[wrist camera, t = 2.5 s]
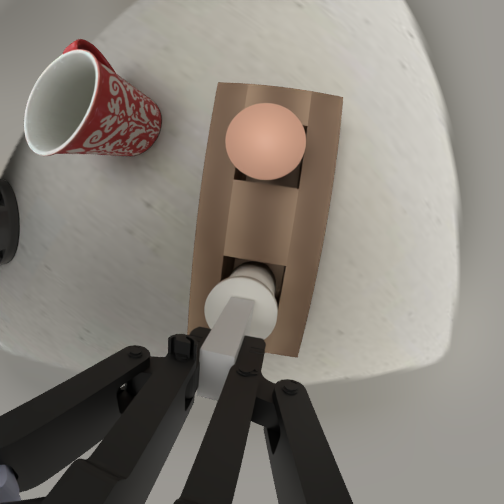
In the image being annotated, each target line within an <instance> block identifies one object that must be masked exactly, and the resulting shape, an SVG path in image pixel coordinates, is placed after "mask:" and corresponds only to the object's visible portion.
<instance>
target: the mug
mask: <svg viewBox="0 0 504 504" xmlns="http://www.w3.org/2000/svg"><path fill="white" fill-rule="evenodd" d="M160 128H161V113H160V110H159V108H158V106H157V105H156V104H155V103H154V102H153V101H152V100H151V99H150V98H148V97H147V96H146V95H144V94H143V93H142V92H140V91H139V90H138V89H136V88H135V87H134V86H132V85H131V84H129V83H128V82H127V81H125V80H124V79H123V78H121V77H120V76H119V75H118V74H116V73H115V71H114V69H113V68H112V67H111V65H110V64H109V62H108V61H107V60H106V58H105V57H104V56H103V54H102V53H101V52H100V51H99V50H98V49H97V48H96V47H95V46H94V45H93V44H91V43H90V42H88V41H86V40H83V39H78V40H76V41H74V42H73V43H71V44H70V45H69V46H68V47H66V49H65V50H64V52H63V55H61V56H60V57H58V58H57V59H56V60H54V61H53V62H52V63H51V64H50V65H49V66H48V67H47V68H46V69H45V71H44V72H43V73H42V74H41V75H40V77H39V79H38V80H37V82H36V83H35V85H34V87H33V89H32V91H31V94H30V96H29V99H28V102H27V106H26V110H25V116H24V132H25V137H26V140H27V143H28V145H29V147H30V148H31V150H32V151H33V152H35V153H36V154H38V155H41V156H50V155H54V154H98V155H119V156H135V155H138V154H141V153H143V152H144V151H146V150H147V149H148V148H149V147H151V145H152V144H153V143H154V141H155V140H156V138H157V137H158V134H159V132H160Z"/></svg>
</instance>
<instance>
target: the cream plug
mask: <svg viewBox="0 0 504 504" xmlns="http://www.w3.org/2000/svg"><path fill="white" fill-rule="evenodd" d="M275 289H276V279H275V276H274V274H273V272H272V271H271V270H270V269H269V268H268V267H267V266H266V265H264V264H262V263H260V262H255V261H249V262H245V263H242V264H240V265H239V266H238V267H236V269H235V270H234V271H233V272H232V274H231V275H230V277H229V278H226V279H224V280H222V281H221V282H219V283H218V284H217V285H216V286H215V287H214V288H213V289H212V291H211V292H210V293H209V295H208V297H207V299H206V302H205V309H204V312H205V318H206V321H207V324H208V326H209V327H210V329H212V328H213V326H214V325H215V323H216V321H217V320H218V318H219V316H220V315H221V313H222V311H223V309H224V308H225V306H226V304H227V303H228V301H229V299H230V298H231V297H236V298H241V299H246V300H252V301H255V302H254V308H253V314H252V321H251V327H250V333H249V336H251V337H257V338H262V339H266V338H267V337H268V336H269V335H270V334H271V333H272V331H273V329H274V327H275V325H276V321H277V313H278V307H277V302H276V299H275V297H274V295H275Z"/></svg>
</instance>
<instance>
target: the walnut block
mask: <svg viewBox="0 0 504 504" xmlns="http://www.w3.org/2000/svg"><path fill="white" fill-rule="evenodd" d="M259 103H272V104H277V105H280V106H283V107H285V108H287V109H288V110H290V111H291V112H292V113H294V114H295V115H296V116H297V117H298V119H299V120H300V122H301V124H302V125H303V128H304V131H305V135H306V147H305V151H304V154H303V157H302V159H301V161H300V163H299V164H298V166H297V167H296V168H295V169H294V170H293V171H291V172H290V173H289V174H287V175H286V176H283V177H281V178H278V179H274V180H259V179H255V178H252V177H250V176H248V175H246V174H244V173H242V172H241V171H240V170H238V169H237V168H236V167H235V166H234V164H233V163H232V162H231V160H230V158H229V156H228V154H227V151H226V143H225V139H226V133H227V129H228V127H229V125H230V123H231V121H232V120H233V118H234V117H235V116H236V115H237V114H238V113H239V112H241V111H242V110H243V109H245V108H247V107H249V106H252V105H255V104H259ZM342 105H343V97H339V96H334V95H329V94H324V93H318V92H313V91H306V90H300V89H293V88H285V87H277V86H267V85H256V84H243V83H222V82H218V86H217V91H216V96H215V102H214V107H213V113H212V119H211V124H210V130H209V136H208V143H207V149H206V156H205V162H204V169H203V176H202V184H201V191H200V199H199V207H198V216H197V224H196V233H195V243H194V253H193V264H192V275H191V287H190V300H189V315H188V332H187V335H189V334H190V332H191V331H192V330H193V329H195V328H197V327H199V326H200V327H204V328H209V329H210V327H209V326H208V324H207V321H206V318H205V312H204V309H205V302H206V299H207V297H208V295H209V293H210V292H211V291H212V289H213V288H214V287H215V286H216V285H217V284H218V283H219V282H221V281H222V280H224V279H226V278H229V277H230V275H231V274H232V272H233V271H234V270H235V269H236V267H238V266H239V265H240V264H242V263H245V262H249V261H255V262H260V263H262V264H264V265H266V266H267V267H268V268H269V269H270V270H271V271H272V272H273V274H274V276H275V279H276V289H275V295H274V297H275V299H276V302H277V307H278V313H277V321H276V325H275V327H274V329H273V331H272V333H271V334H270V335H269V336H268V337H267V338H266V339H264V341H265V343H266V347H265V352H266V353H272V354H278V355H284V356H290V357H298V353H299V349H300V345H301V341H302V337H303V333H304V329H305V325H306V321H307V317H308V313H309V308H310V304H311V299H312V295H313V290H314V286H315V281H316V276H317V271H318V266H319V261H320V256H321V251H322V246H323V241H324V235H325V230H326V224H327V218H328V212H329V206H330V200H331V194H332V187H333V180H334V173H335V166H336V158H337V151H338V142H339V134H340V125H341V115H342Z"/></svg>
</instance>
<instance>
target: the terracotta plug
mask: <svg viewBox="0 0 504 504" xmlns="http://www.w3.org/2000/svg"><path fill="white" fill-rule="evenodd" d="M225 143H226V151H227V154H228V156H229V158H230V160H231V162H232V163H233V164H234V166H235V167H236V168H237V169H238V170H240V171H241V172H242V173H244V174H246V175H248V176H250V177H252V178H255V179H259V180H274V179H278V178H281V177H283V176H286V175H287V174H289V173H290V172H291V171H293V170H294V169H295V168H296V167H297V166H298V164H299V163H300V161H301V159H302V157H303V154H304V151H305V147H306V135H305V131H304V128H303V125H302V124H301V122H300V120H299V119H298V117H297V116H296V115H295V114H294V113H292V112H291V111H290V110H288V109H287V108H285V107H283V106H280V105H277V104H272V103H259V104H255V105H252V106H249V107H247V108H245V109H243V110H242V111H241V112H239V113H238V114H237V115H236V116H235V117H234V118H233V120H232V121H231V123H230V125H229V127H228V129H227V133H226V139H225Z"/></svg>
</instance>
